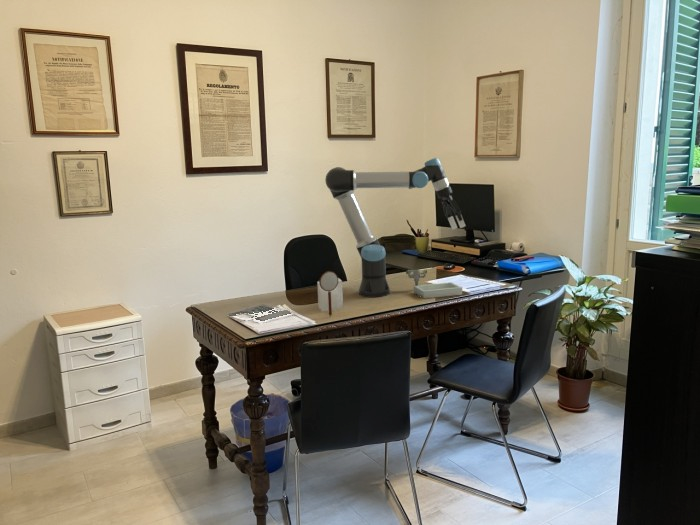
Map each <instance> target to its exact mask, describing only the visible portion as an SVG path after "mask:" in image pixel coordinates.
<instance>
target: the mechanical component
mask: <svg viewBox="0 0 700 525" xmlns="http://www.w3.org/2000/svg"><path fill="white" fill-rule="evenodd" d="M411 273H412V274H411ZM427 273H428V270H426V269H423V272H421V271H420V269H407V270H406V271H405V274H406V275H407V276H408V278H409V279H413V281H414V286H419V282H420V279H424V278H425V277H426V276H427V275H426V274H427Z"/></svg>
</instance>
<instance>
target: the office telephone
mask: <svg viewBox="0 0 700 525" xmlns="http://www.w3.org/2000/svg"><path fill="white" fill-rule="evenodd" d="M274 308H275V307H273V306H270V305H266V304H259V305H256V306H252V307H248V308H244V309H242V310H239V311H236V312H230V313H228V314H227V316H228V315H229V316H228V317H230V316H237V315H236V314H239V315H241V314H240V313H243V314H244V313H249V314H254V313H259V312H261V313H262V314H263V312H266V311H269V310H272V309H274ZM282 310H283V309H282ZM262 311H263V312H262ZM272 311H274V312H276V313H274V312H272ZM272 311H269V312H268V313H271V312H272V314H268V315H264V316H261V317H257V316H255V317H257V318H255V319H256V320H260V321H265V320H268V319H272V318H276V317H279V316H283V315H287V314H291V313H292V312H291V311H290V310H288V309H284V310H283V311H279V312H278V311H275V310H272ZM253 312H254V313H253ZM255 315H258V314H255ZM253 317H254V316H251V318H253Z"/></svg>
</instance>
